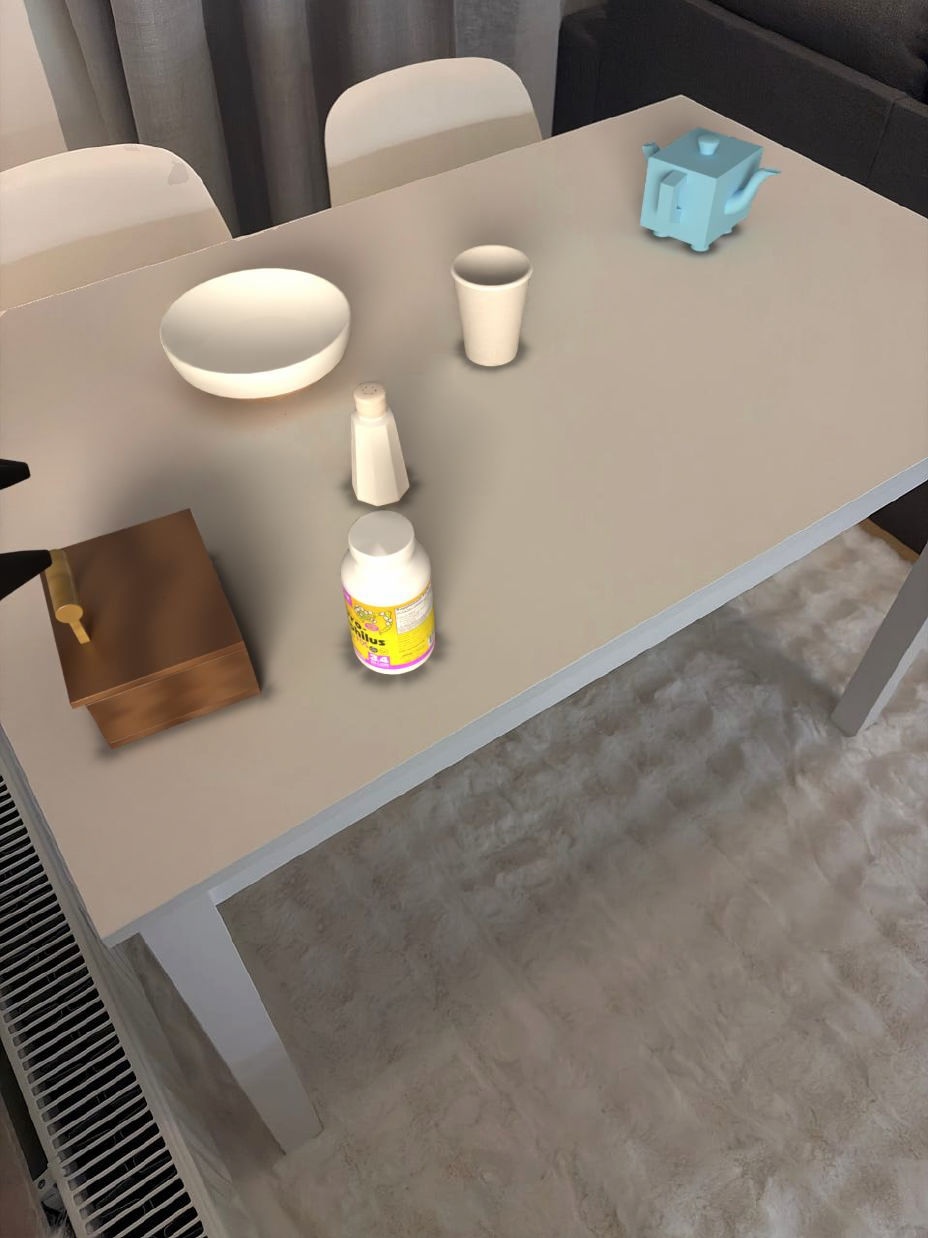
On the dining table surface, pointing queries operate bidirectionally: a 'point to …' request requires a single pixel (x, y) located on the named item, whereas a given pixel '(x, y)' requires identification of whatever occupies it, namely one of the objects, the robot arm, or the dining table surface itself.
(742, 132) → the dining table surface
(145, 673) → the lid
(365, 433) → the salt shaker
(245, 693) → the chest
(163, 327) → the bowl
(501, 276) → the dixie cup
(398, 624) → the supplement bottle
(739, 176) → the teapot
